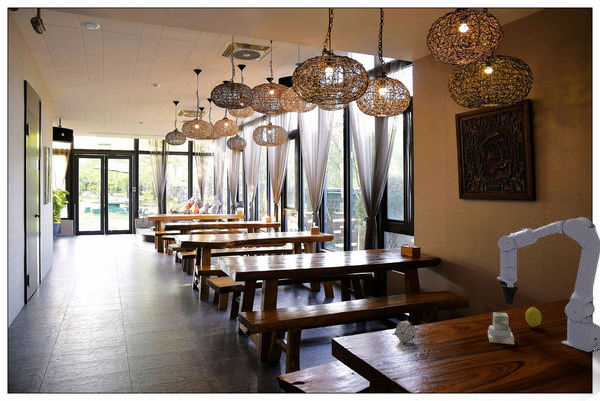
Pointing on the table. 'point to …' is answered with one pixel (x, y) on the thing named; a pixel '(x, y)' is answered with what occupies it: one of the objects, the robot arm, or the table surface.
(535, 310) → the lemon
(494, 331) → the grey puck
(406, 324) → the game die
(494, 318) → the sage cube
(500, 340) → the birch slab
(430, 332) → the table surface
